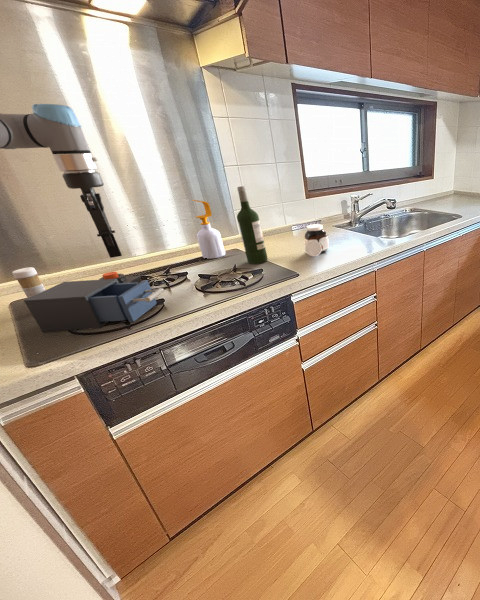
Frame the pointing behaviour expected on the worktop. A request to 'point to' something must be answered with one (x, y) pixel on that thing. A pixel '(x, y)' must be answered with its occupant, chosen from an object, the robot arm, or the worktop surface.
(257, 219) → the wine bottle
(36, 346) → the worktop surface
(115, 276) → the button
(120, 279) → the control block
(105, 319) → the blue drawer
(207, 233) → the soap bottle
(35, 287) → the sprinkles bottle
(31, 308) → the grey drawer cabinet
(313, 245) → the spread jar
